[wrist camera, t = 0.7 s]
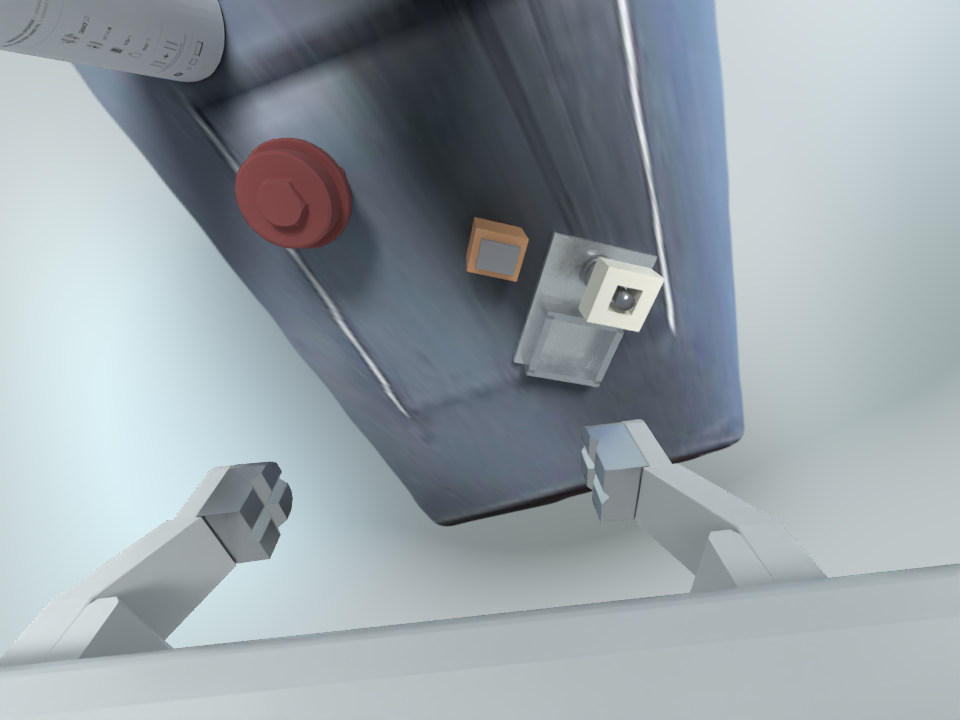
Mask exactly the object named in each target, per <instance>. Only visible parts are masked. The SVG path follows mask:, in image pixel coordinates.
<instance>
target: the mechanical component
mask: <svg viewBox="0 0 960 720" xmlns="http://www.w3.org/2000/svg"><path fill="white" fill-rule="evenodd" d="M235 195H236V200H237V203H238V206H239V209H240V211H241V213H242V215H243V217H244V218H245V220H246V221H247V223H248V224H249V225H250V226H251V228H252V229H253V230H254V231H255V232H256V233H258V234H259V235H260V236H261V237H263V238H264V239H266V240H267V241H269V242H271V243H273V244H275V245H278V246H281V247H285V248H292V249H298V248H317V247H321V246H324V245H326V244H328V243H330V242H332V241H333V240H334V239H336V238H337V237H338V236H339V235H340V234H341V233H342V232H343V230H344V229H345V227H346V226H347V224H348V222H349V219H350V216H351V211H352V196H351V191H350V187H349V184H348V181H347V179H346V177H345V172H344V170H343V169H342V168H341V167H339V166H338V164H337V163H336V162H335V161H334V159H333V158H331V157H330V156H329V155H328V154H327V153H326V152H325V151H323V150H322V149H321V148H319V147H317V146H316V145H314V144H312V143H309V142H307V141H304V140H300V139H295V138H279V139H272V140H270V141H267V142H264V143H263V144H261V145H259V146H258V147H257V148H255V149H254V150H253V151H252V153H251V154H250V155H249V157H248V159H247V160H246V161H245V162H244V163H243V164H242V165H241V167H240V169H239V171H238V173H237V177H236V181H235Z"/></svg>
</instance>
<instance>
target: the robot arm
mask: <svg viewBox="0 0 960 720" xmlns="http://www.w3.org/2000/svg"><path fill="white" fill-rule="evenodd" d="M582 440H583V443H584V445H585V447H584V448H583V449H582V450H581V465H582V471H583V475H584V479H585V482H586V485H587V486H588V487H589V488H590V489H592V490H593V496H592V501H593V504H594V506H595V509H596V512H597V514H598V517H599V520H600V522H612V521H624V520H635V522H636V523H637V524H638V525H639V526H640V527H642V528H643V529H644V530H645V531H646V532H647V533H648V534H649V535H651V536H652V537H653V538H654V539H655V540H656V541H657V542H658V543H659V544H661V545H662V546H663V547H664V548H665V549H666V550H667V551H668V552H670V553H671V554H672V555H673V556H674V557H675V558H676V559H677V560H679V561H680V562H681V563H682V564H683V565H684V566H685V567H686V568H687V569H689V570H690V571H691V572H692V573H693V574H694V575H695V579H694V582H693V586H692V589H691V592H690V593H684V594H675V595H666V596H656V597H647V598H638V599H628V600H619V601H610V602H601V603H591V604H582V605H573V606H563V607H555V608H546V609H536V610H527V611H517V612H509V613H499V614H490V615H481V616H472V617H462V618H453V619H444V620H435V621H426V622H417V623H407V624H398V625H389V626H380V627H370V628H361V629H352V630H343V631H333V632H324V633H315V634H306V635H296V636H288V637H278V638H269V639H259V640H250V641H241V642H232V643H222V644H214V645H204V646H196V647H185V648H176V649H173V648H172V647H171V646H170V645H169V644H168V643H166V641H165V639H166V638H167V637H168V636H169V635H170V634H171V633H172V632H173V631H174V630H175V629H176V628H177V627H178V626H179V625H180V624H181V623H182V621H183V620H184V619H185V618H186V617H187V616H188V615H189V614H190V613H191V612H192V611H193V610H194V609H195V608H196V607H197V606H198V605H199V604H200V603H201V602H202V601H203V600H204V598H205V597H206V596H207V595H208V594H209V593H210V592H211V591H212V590H213V589H214V588H215V587H216V586H217V585H218V584H219V583H220V582H221V581H222V580H223V579H224V578H225V577H226V576H227V575H228V573H229V572H230V571H231V570H232V569H233V568H234V567H235V566H236V563H243V562H250V561H258V560H265V559H270V557H271V555H272V553H273V550H274V548H275V546H276V544H277V542H278V539H279V537H280V532H279V529H278V527H279V526H280V525H282V524H283V523H284V522H285V521H286V520H287V519H288V516H289V514H290V511H291V507H292V499H293V498H292V492H291V489H290V487H289V485H288V483H286V482H285V481H283V480H281V479H280V478H279V477H280V474H281V472H282V471H281V470H280V468H279V466H278V464H277V463H275V462H261V463H250V464H239V465H234V466H220V467H215V468H213V469H212V470H210V471H209V472H208V473H207V475H206V476H205V478H204V479H203V480H202V482H201V483H200V484H199V486H198V487H197V488H196V490H195V491H194V492H193V494H192V495H191V496H190V498H189V499H188V501H187V502H186V503H185V505H184V506H183V507H182V509H181V510H180V511H179V513H178V514H177V516H176V517H175V518H174V519H173V520H167V521H166V522H164V523H163V524H161V525H160V526H158V527H157V528H155V529H154V530H153V531H151V532H150V533H148V534H147V535H145V536H144V537H143V538H141V539H140V540H138V541H137V542H135V543H134V544H132V545H131V546H130V547H128V548H127V549H125V550H124V551H122V552H121V553H119V554H118V555H116V556H115V557H114V558H112V559H111V560H109V561H108V562H106V563H105V564H103V565H102V566H101V567H99V568H98V569H96V570H95V571H93V572H92V573H90V574H89V575H88V576H86V577H85V578H83V579H82V580H80V581H79V582H78V583H76V584H75V585H73V586H72V587H70V588H69V589H68V590H66V591H64V592H63V593H62V594H60V595H59V596H57V597H56V598H54V599H53V600H52V601H50V602H49V603H48V604H47V605H46V606H45V608H44V609H43V610H42V611H41V612H40V613H39V614H38V616H37V617H36V618H35V619H34V620H33V622H31V624H30V625H29V626H28V627H27V628H26V629H25V631H24V632H23V633H22V634H21V635H20V636H19V637H18V639H17V640H16V641H15V642H14V643H13V644H12V645H11V647H10V648H9V649H8V650H7V651H6V652H5V653H4V655H3V656H2V657H1V658H0V720H960V564H952V565H943V566H933V567H924V568H915V569H905V570H896V571H887V572H878V573H869V574H859V575H850V576H842V577H832V578H827V576H826V575H825V574H824V573H823V572H822V570H821V569H820V568H819V567H818V566H817V565H816V563H815V562H814V561H813V559H812V558H811V557H810V556H809V555H808V553H807V552H806V551H805V550H804V549H803V547H802V546H801V545H800V544H799V543H798V541H797V540H796V539H795V538H794V537H793V536H792V534H791V533H790V532H789V531H788V529H787V528H786V527H785V526H784V524H783V523H781V522H780V521H778V520H776V519H774V518H773V517H771V516H769V515H768V514H766V513H764V512H762V511H761V510H759V509H757V508H755V507H754V506H751V505H750V504H748V503H746V502H745V501H743V500H741V499H739V498H738V497H736V496H734V495H732V494H730V493H729V492H727V491H725V490H724V489H722V488H720V487H718V486H717V485H715V484H713V483H711V482H709V481H708V480H706V479H704V478H702V477H700V476H699V475H697V474H695V473H694V472H692V471H690V470H688V469H686V468H685V467H683V466H681V465H680V464H672V463H671V462H670V460H669V459H668V457H667V456H666V454H665V453H664V451H663V449H662V448H661V446H660V445H659V443H658V442H657V440H656V439H655V437H654V436H653V434H652V433H651V431H650V430H649V428H648V427H647V425H646V424H645V422H644V421H643V420H641V419H638V420H630V421H623V422H617V423H608V424H600V425H592V426H583V429H582Z"/></svg>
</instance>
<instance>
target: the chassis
mask: <svg viewBox="0 0 960 720" xmlns="http://www.w3.org/2000/svg"><path fill="white" fill-rule="evenodd" d="M598 257H603V258H607V259H612V260H616V261H620V262H625V263H629V264H634V265H638V266H642V267H647V268H651V269H652V268H653V266H654V264H655V261H656V259H657V256H655V255H654V254H650V253H646V252H642V251H637V250H633V249H629V248H624V247H620V246H616V245H612V244H607V243H603V242H599V241H594V240H590V239H586V238H582V237H577V236H573V235H569V234H564V233H560V232H556V231H553V232H552V235H551V239H550V242H549V245H548V248H547V251H546V254H545V258H544V261H543V264H542V267H541V270H540V273H539V276H538V280H537V283H536V286H535V289H534V292H533V295H532V299H531V302H530V305H529V308H528V311H527V314H526V318H525V321H524V324H523V327H522V330H521V333H520V337H519V340H518V343H517V346H516V349H515V352H514V355H513V362H515V363H521V364H524V368H525V372H526V375H529V376H534V377H540V378H546V379H552V380H558V381H564V382H570V383H576V384H582V385H588V386H594V387H599V385H600V383H601V381H602V379H603V377H604V374H605V372H606V370H607V368H608V366H609V364H610V362H611V359H612V357H613V355H614V353H615V351H616V349H617V347H618V344H619V342H620V340H621V338H622V336H623V334H624V332H625V330H626V329H621V328H616V327H611V326H606V325H601V324H596V323H591V322H587V321H586V320H585V318H584V317H583V315H582V314H581V312H580V311H579V309H578V308H579V305H580V303H581V300H582V297H583V295H584V292H585V290H586V287H587V285H588V282H589V279H590V277H591V274H592V272H593V269H594V266H595V264H596V261H597V259H598ZM626 288H627V287H623V286H619V285H618V286H617V288H616V290H615V293H614V295H613V297H612V300H611V301H612V302H614V303H615V304H616V305H617V306H618V307H619V308H620V309H621V310H623V311H627V310H630V309H631V308H633V306H634V305H635V298H634V297H633V296H632V295H631V294H630V293H629V292H628V291H627V290H626Z"/></svg>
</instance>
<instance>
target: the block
mask: <svg viewBox="0 0 960 720" xmlns="http://www.w3.org/2000/svg"><path fill="white" fill-rule="evenodd" d="M528 241H529V239H528V238H527V236H526V234H525V233H524V231H523V230H522V228H520V227H516V226H512V225H507V224H503V223H499V222H494V221H490V220H486V219H481V218H477V217H474V221H473V226H472V231H471V235H470V240H469V245H468V249H467V254H466V265H467V272H472V273H477V274H482V275H486V276H491V277H496V278H501V279H506V280H510V281H515V282H517V279H518V275H519V272H520V268H521V265H522V262H523V258H524V255H525V251H526V248H527V244H528Z"/></svg>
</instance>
